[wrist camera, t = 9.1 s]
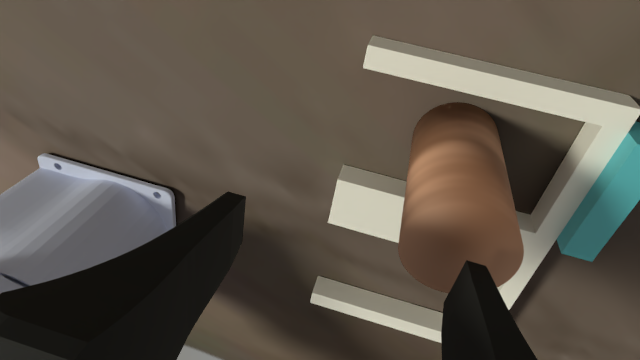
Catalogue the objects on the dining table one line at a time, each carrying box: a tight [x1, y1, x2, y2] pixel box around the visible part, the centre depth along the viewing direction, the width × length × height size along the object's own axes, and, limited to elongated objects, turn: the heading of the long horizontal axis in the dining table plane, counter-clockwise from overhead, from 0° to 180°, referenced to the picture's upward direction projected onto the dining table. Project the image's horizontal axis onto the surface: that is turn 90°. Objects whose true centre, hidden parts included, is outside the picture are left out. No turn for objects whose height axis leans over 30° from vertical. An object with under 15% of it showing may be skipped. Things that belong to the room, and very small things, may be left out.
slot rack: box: [310, 35, 640, 343], centre depth 22 cm, size 12×17×2 cm
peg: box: [398, 102, 524, 293], centre depth 18 cm, size 4×4×8 cm
